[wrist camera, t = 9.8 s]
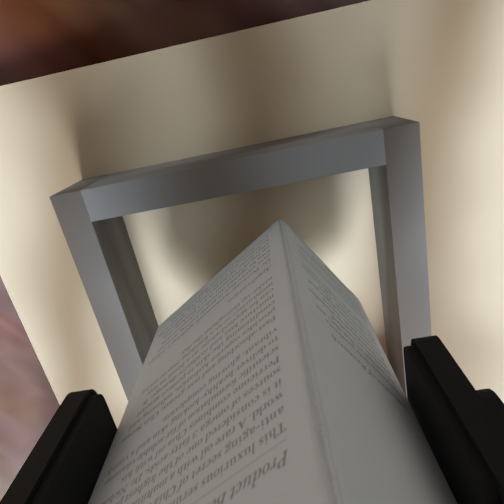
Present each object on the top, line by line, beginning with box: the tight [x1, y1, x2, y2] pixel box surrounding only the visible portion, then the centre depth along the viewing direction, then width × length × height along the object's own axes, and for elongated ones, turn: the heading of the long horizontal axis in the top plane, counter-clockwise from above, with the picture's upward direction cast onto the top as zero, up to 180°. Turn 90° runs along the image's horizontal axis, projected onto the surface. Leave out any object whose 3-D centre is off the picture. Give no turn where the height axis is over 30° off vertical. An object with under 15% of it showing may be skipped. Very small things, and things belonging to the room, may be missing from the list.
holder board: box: [0, 0, 504, 429], centre depth 16 cm, size 20×18×4 cm
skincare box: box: [88, 219, 457, 504], centre depth 9 cm, size 6×4×12 cm
